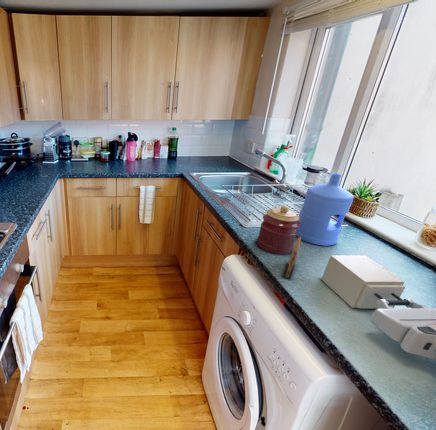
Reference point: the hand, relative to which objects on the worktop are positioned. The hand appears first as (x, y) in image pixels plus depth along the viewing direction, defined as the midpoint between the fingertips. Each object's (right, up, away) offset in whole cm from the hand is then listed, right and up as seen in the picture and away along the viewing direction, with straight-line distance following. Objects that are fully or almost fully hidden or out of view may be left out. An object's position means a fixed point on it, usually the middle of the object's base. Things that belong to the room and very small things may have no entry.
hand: (392, 300), depth 78 cm
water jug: (+10, +14, +45) cm, 49 cm away
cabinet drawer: (0, -2, +8) cm, 9 cm away
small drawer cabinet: (0, -1, +12) cm, 12 cm away
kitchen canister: (-12, +11, +38) cm, 41 cm away
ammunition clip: (-15, +4, +22) cm, 27 cm away
